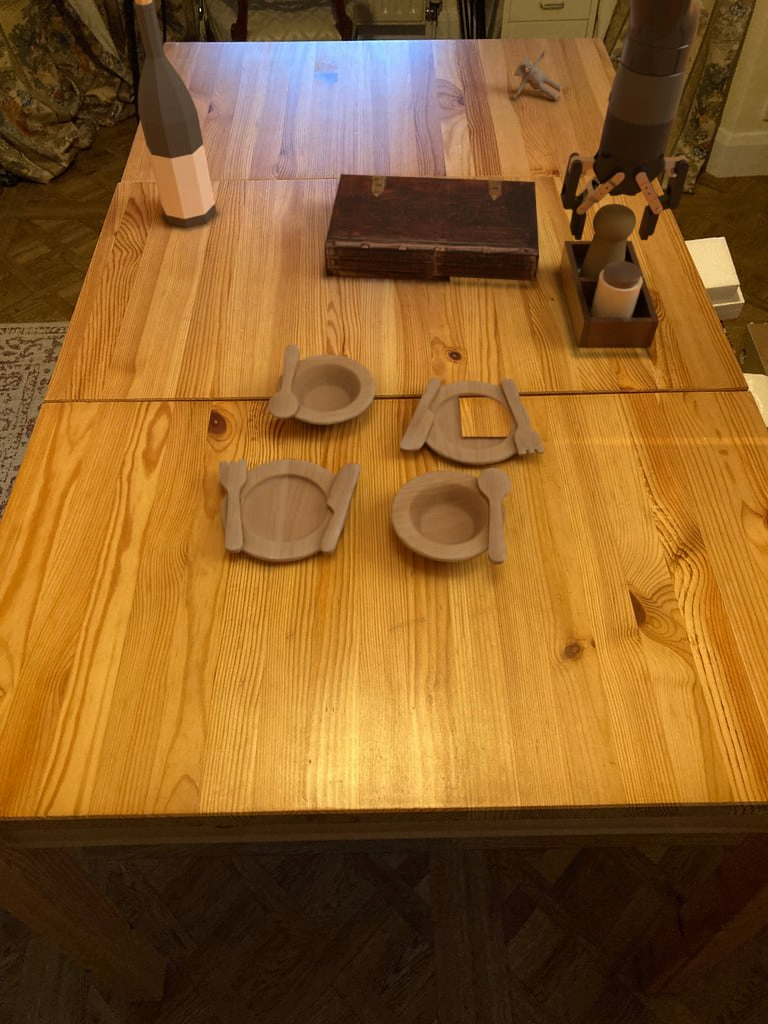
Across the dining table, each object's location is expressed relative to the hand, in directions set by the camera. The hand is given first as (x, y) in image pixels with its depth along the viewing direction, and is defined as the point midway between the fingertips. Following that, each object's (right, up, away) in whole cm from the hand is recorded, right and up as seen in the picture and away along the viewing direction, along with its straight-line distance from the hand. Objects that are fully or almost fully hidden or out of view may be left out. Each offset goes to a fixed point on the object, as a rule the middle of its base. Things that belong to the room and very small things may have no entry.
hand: (609, 236), depth 99 cm
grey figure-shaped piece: (-1, +42, +44) cm, 61 cm away
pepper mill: (0, -5, +6) cm, 7 cm away
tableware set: (-29, -31, -13) cm, 44 cm away
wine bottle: (-59, +10, +19) cm, 63 cm away
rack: (0, -9, +4) cm, 9 cm away
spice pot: (0, -11, +1) cm, 11 cm away
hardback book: (-22, +4, +14) cm, 26 cm away
